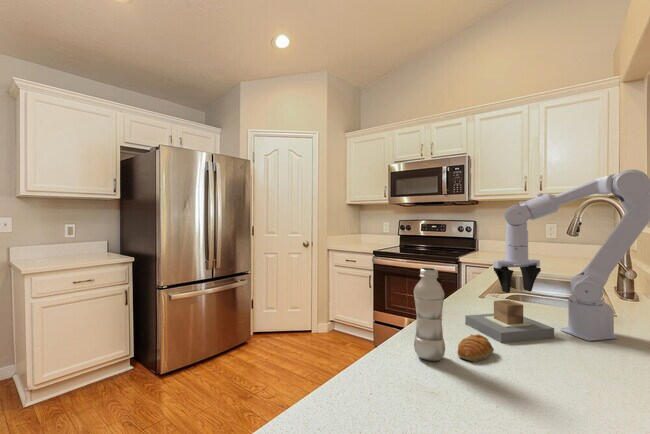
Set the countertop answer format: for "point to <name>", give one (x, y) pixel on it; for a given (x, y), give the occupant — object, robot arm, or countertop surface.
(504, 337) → the slate board
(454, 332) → the countertop surface
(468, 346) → the pastry
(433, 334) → the plastic bottle
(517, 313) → the walnut cube
